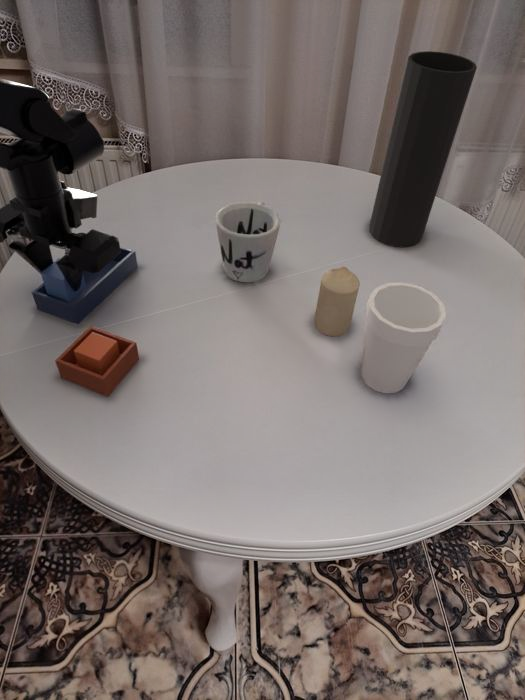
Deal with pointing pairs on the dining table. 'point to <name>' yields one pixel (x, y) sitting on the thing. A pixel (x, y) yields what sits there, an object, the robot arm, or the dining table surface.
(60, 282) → the slate block
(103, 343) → the terracotta block
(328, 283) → the candle
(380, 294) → the foam cup
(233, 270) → the mug
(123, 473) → the dining table surface
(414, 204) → the vase
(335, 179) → the dining table surface
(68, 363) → the terracotta bin
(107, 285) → the slate bin
